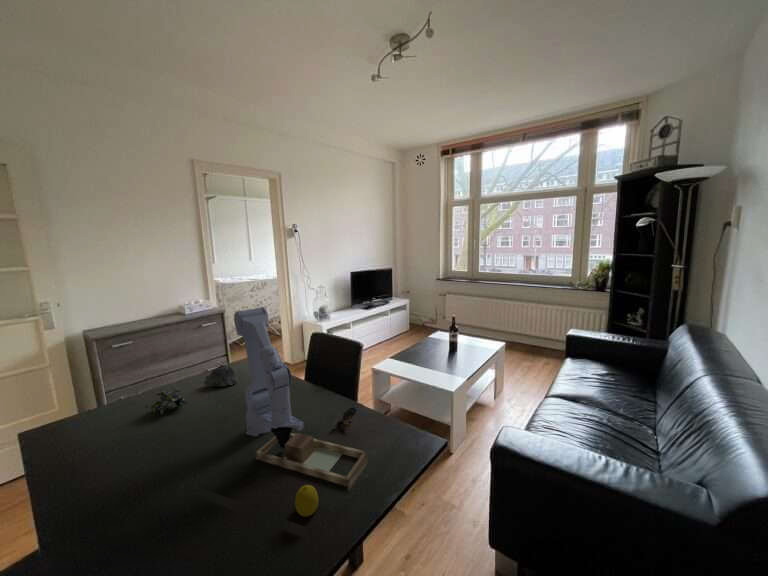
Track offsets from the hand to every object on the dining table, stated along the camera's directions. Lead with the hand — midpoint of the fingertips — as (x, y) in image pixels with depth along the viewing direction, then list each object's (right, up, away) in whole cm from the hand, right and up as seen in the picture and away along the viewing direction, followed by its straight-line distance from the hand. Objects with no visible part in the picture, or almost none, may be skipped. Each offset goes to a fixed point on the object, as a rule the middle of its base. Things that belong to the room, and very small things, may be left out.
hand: (284, 446), depth 101 cm
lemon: (+12, -7, -21) cm, 26 cm away
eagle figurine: (+18, -1, +14) cm, 23 cm away
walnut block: (+5, -2, -2) cm, 6 cm away
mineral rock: (-45, +4, +51) cm, 68 cm away
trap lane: (+9, -4, -3) cm, 10 cm away
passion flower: (-55, -1, +29) cm, 62 cm away
